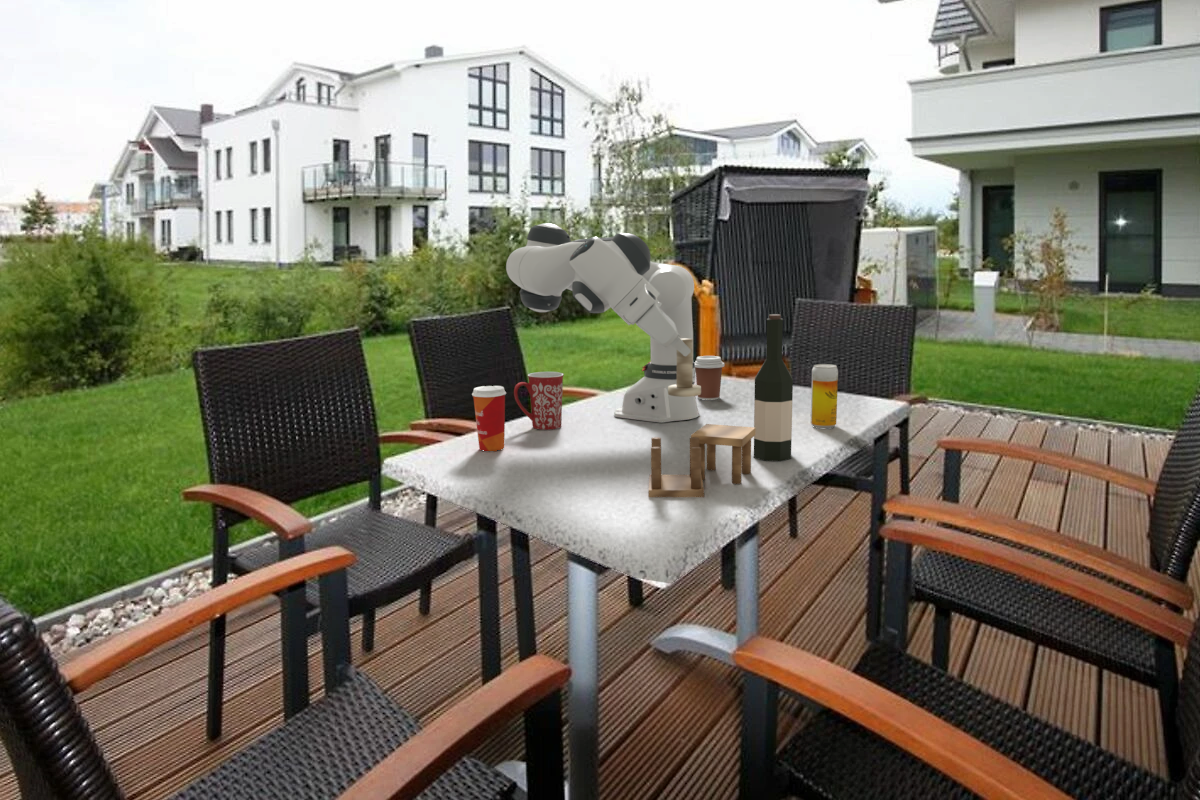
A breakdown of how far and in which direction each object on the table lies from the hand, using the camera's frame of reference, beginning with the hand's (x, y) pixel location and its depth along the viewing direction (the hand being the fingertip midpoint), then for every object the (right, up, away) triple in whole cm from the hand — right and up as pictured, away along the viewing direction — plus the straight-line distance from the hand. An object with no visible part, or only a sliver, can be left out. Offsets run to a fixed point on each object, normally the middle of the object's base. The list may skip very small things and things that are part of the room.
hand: (687, 352), depth 162 cm
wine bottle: (+19, -22, +10) cm, 31 cm away
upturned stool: (-3, -26, -10) cm, 29 cm away
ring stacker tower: (-1, -8, +2) cm, 8 cm away
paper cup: (-42, -21, +22) cm, 52 cm away
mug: (-33, -17, +42) cm, 56 cm away
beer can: (+37, -16, +36) cm, 54 cm away
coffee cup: (+14, -9, +74) cm, 76 cm away
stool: (+7, -24, -3) cm, 25 cm away
